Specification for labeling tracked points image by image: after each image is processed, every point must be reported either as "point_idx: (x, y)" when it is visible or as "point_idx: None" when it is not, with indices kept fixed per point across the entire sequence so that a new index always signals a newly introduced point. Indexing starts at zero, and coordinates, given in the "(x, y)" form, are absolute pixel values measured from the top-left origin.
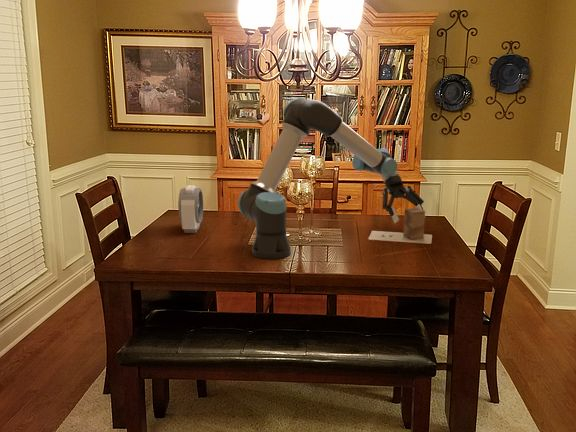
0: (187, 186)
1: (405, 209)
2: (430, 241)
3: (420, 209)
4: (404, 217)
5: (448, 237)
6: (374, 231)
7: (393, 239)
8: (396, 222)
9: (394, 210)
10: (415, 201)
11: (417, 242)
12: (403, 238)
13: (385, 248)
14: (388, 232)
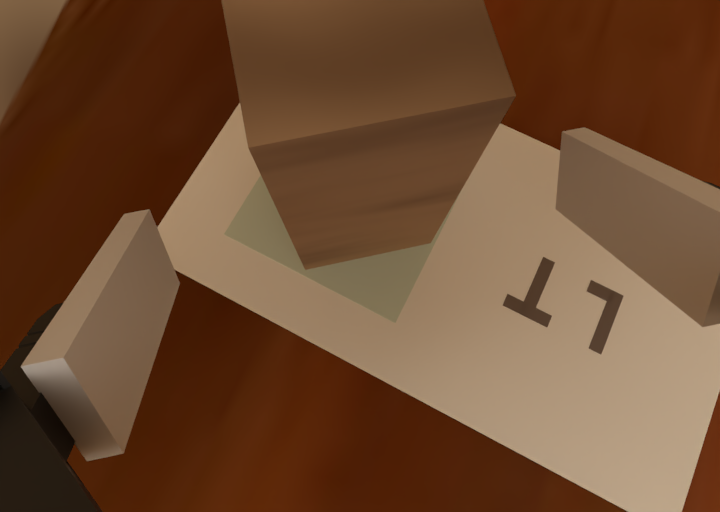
0: None
1: (501, 89)
2: None
3: (228, 31)
4: (475, 159)
5: (35, 186)
6: (654, 499)
7: (543, 191)
8: (563, 190)
9: (679, 185)
10: (55, 454)
11: None
12: None
13: (652, 39)
14: (519, 423)
